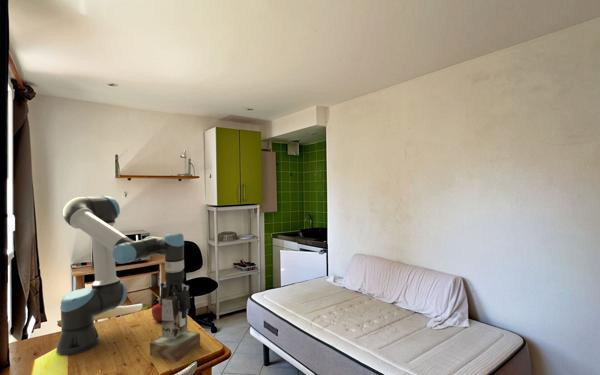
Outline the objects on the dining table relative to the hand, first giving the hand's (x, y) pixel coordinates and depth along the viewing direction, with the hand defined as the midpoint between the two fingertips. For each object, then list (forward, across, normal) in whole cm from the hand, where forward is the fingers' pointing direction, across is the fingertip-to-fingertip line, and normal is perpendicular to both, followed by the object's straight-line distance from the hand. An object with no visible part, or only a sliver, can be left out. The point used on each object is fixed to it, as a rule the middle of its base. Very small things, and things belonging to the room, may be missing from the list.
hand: (175, 323), depth 135 cm
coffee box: (+4, 0, 0) cm, 4 cm away
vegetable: (+11, -28, +20) cm, 36 cm away
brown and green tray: (+11, 0, 0) cm, 11 cm away
